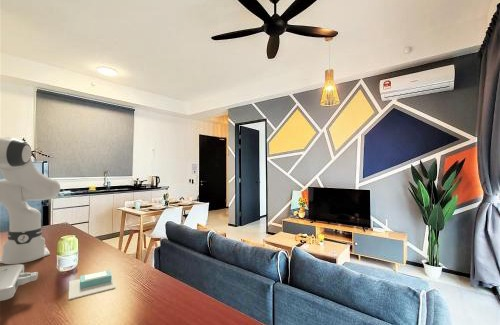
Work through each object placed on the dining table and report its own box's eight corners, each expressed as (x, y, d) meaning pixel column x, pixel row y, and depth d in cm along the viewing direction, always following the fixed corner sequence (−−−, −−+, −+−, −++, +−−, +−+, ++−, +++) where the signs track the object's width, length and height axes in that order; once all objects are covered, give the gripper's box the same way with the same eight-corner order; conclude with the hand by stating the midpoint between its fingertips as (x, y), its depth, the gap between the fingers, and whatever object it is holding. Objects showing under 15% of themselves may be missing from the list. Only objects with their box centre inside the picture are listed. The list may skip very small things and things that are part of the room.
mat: (69, 282, 93) (69, 281, 93) (110, 273, 101) (110, 272, 101) (68, 300, 81) (68, 298, 81) (115, 288, 89) (115, 287, 89)
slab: (80, 275, 92) (109, 269, 98) (79, 282, 92) (109, 275, 98) (80, 281, 87) (111, 275, 93) (80, 289, 87) (111, 281, 93)
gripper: (-33, 292, 67) (33, 279, 75) (-12, 265, 83) (41, 257, 91) (-34, 314, 67) (32, 299, 75) (-12, 283, 83) (40, 273, 91)
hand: (37, 275), depth 83 cm, fingers closed
